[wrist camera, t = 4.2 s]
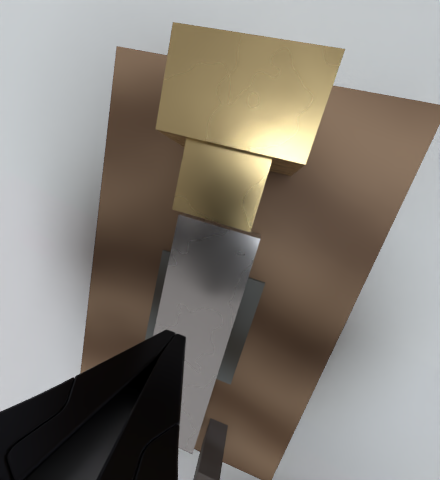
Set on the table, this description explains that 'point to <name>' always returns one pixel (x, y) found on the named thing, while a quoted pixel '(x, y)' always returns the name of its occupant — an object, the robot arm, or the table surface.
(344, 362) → the table surface
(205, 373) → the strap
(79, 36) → the table surface
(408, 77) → the table surface
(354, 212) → the base
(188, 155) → the gold t-shaped block
